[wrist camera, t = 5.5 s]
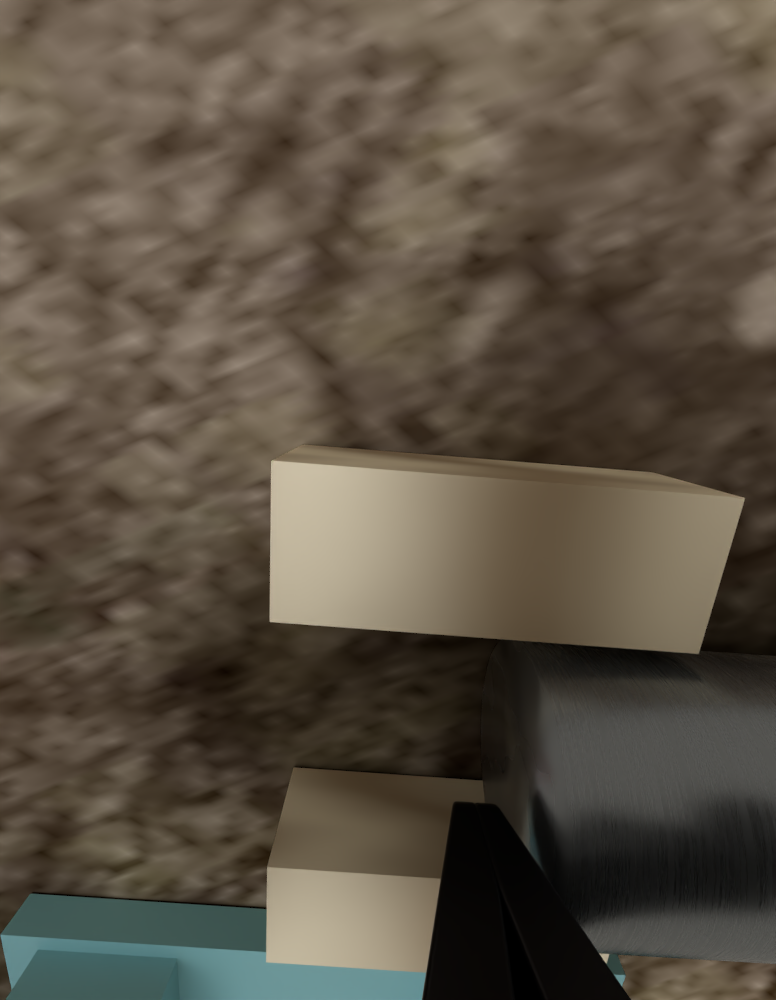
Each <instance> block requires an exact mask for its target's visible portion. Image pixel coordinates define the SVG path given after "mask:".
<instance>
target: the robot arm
mask: <svg viewBox="0 0 776 1000" xmlns="http://www.w3.org/2000/svg"><path fill="white" fill-rule="evenodd" d="M422 1000H631V999H630V998H629V996H628V995H627V993H626V992H625V990H624V989H623V987H622V986H621V985H620V983H619V982H618V980H617V979H616V977H615V976H614V974H613V973H612V971H611V970H610V968H609V967H608V966H607V964H606V963H605V961H604V960H603V958H602V957H601V955H600V954H599V952H598V951H597V950H596V948H595V947H594V945H593V944H592V942H591V941H590V939H589V938H588V936H587V935H586V933H585V932H584V931H583V929H582V928H581V926H580V925H579V923H578V922H577V920H576V919H575V917H574V916H573V915H572V913H571V912H570V910H569V909H568V907H567V906H566V904H565V903H564V901H563V900H562V898H561V897H560V896H559V894H558V893H557V891H556V890H555V888H554V887H553V885H552V884H551V882H550V881H549V880H548V878H547V877H546V875H545V874H544V872H543V871H542V869H541V868H540V866H539V865H538V863H537V862H536V861H535V859H534V858H533V856H532V855H531V853H530V852H529V850H528V849H527V847H526V846H525V845H524V843H523V842H522V840H521V839H520V837H519V836H518V834H517V833H516V831H515V830H514V828H513V827H512V826H511V824H510V823H509V821H508V820H507V818H506V817H505V815H504V814H503V812H502V811H501V810H500V808H499V807H498V806H497V805H495V804H492V803H475V804H474V803H473V802H462V801H455V802H454V803H453V805H452V811H451V817H450V823H449V830H448V836H447V842H446V849H445V855H444V861H443V868H442V874H441V881H440V887H439V893H438V900H437V906H436V912H435V919H434V925H433V931H432V938H431V944H430V950H429V957H428V963H427V970H426V976H425V982H424V989H423V995H422Z"/></svg>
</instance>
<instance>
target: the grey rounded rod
mask: <svg viewBox="0 0 776 1000" xmlns="http://www.w3.org/2000/svg"><path fill="white" fill-rule="evenodd" d="M481 763H482V778H483V789H484V799H485V803H492V804H495V805H497V806H498V807H499V808H500V810H501V811H502V812H503V814H504V815H505V817H506V818H507V820H508V821H509V823H510V824H511V826H512V827H513V828H514V830H515V831H516V833H517V834H518V836H519V837H520V839H521V840H522V842H523V843H524V845H525V846H526V847H527V849H528V850H529V852H530V853H531V855H532V856H533V858H534V859H535V861H536V862H537V863H538V865H539V866H540V868H541V869H542V871H543V872H544V874H545V875H546V877H547V878H548V880H549V881H550V882H551V884H552V885H553V887H554V888H555V890H556V891H557V893H558V894H559V896H560V897H561V898H562V900H563V901H564V903H565V904H566V906H567V907H568V909H569V910H570V912H571V913H572V915H573V916H574V917H575V919H576V920H577V922H578V923H579V925H580V926H581V928H582V929H583V931H584V932H585V933H586V935H587V936H588V938H589V939H590V941H591V942H592V944H593V945H594V947H595V948H596V950H597V951H598V952H599V953H601V954H618V955H635V956H652V957H669V958H686V959H703V960H720V961H737V962H754V963H771V964H776V656H769V655H754V654H739V653H724V652H709V651H699V654H693V653H679V652H666V651H652V650H639V649H626V648H612V647H599V646H585V645H572V644H558V643H545V642H532V641H518V640H505V639H502V640H501V641H499V642H498V643H497V645H496V646H495V648H494V650H493V652H492V654H491V657H490V659H489V663H488V666H487V670H486V675H485V680H484V687H483V696H482V708H481Z"/></svg>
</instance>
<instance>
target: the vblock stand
mask: <svg viewBox="0 0 776 1000" xmlns="http://www.w3.org/2000/svg"><path fill="white" fill-rule="evenodd" d="M266 926H267V909H256V908H241V907H226V906H211V905H196V904H180V903H165V902H150V901H135V900H120V899H105V898H90V897H75V896H59V895H44V894H30V895H29V896H28V897H27V899H26V900H25V902H24V903H23V904H22V906H21V907H20V908H19V910H18V911H17V913H16V914H15V915H14V917H13V918H12V919H11V921H10V922H9V924H8V925H7V926H6V928H5V929H4V930H3V932H2V933H1V935H0V936H1V941H2V946H3V950H4V955H5V960H6V965H7V970H8V974H9V979H10V984H11V989H12V990H11V992H10V994H9V995H8V997H7V998H6V1000H422V995H423V989H424V982H425V976H426V973H423V972H408V971H392V970H377V969H361V968H346V967H330V966H315V965H299V964H284V963H268V962H266ZM607 966H608V967H609V968H610V970H611V971H612V973H613V974H614V976H615V977H616V979H617V980H618V982H619V983H620V985H621V986H622V985H623V982H624V979H625V976H626V975H625V973H624V970H623V968H622V965H621V963H620V960H619V958H618V956H617V954H609V957H608V961H607Z"/></svg>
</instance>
